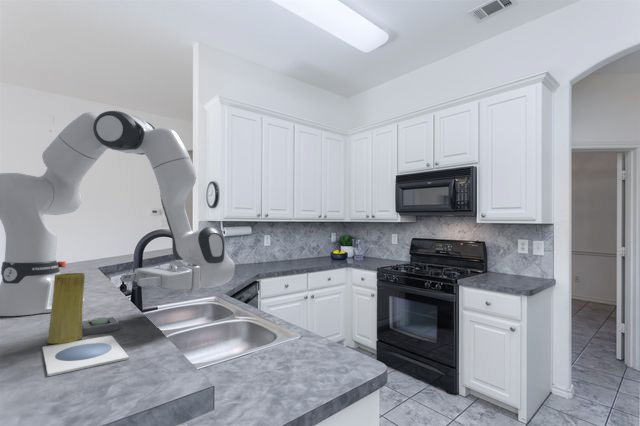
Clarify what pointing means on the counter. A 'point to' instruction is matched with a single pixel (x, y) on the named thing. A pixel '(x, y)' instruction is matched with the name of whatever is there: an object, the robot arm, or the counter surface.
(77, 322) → the vase
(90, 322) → the button collar
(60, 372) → the paper pad
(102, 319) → the button
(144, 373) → the counter surface
